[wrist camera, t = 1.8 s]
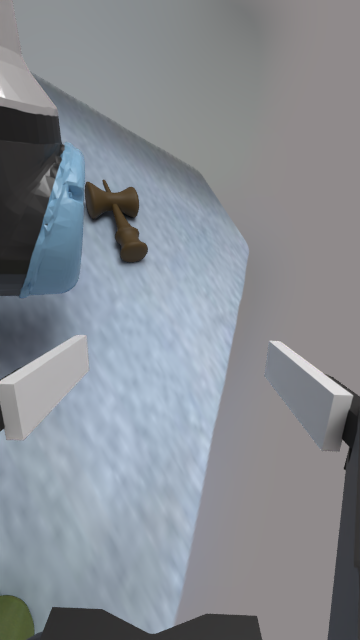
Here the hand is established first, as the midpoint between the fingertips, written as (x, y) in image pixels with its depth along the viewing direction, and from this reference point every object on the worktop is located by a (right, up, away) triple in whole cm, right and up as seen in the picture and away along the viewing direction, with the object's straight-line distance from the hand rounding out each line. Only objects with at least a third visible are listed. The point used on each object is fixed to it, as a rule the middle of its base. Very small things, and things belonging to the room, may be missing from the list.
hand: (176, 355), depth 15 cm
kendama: (-13, +22, +28) cm, 38 cm away
